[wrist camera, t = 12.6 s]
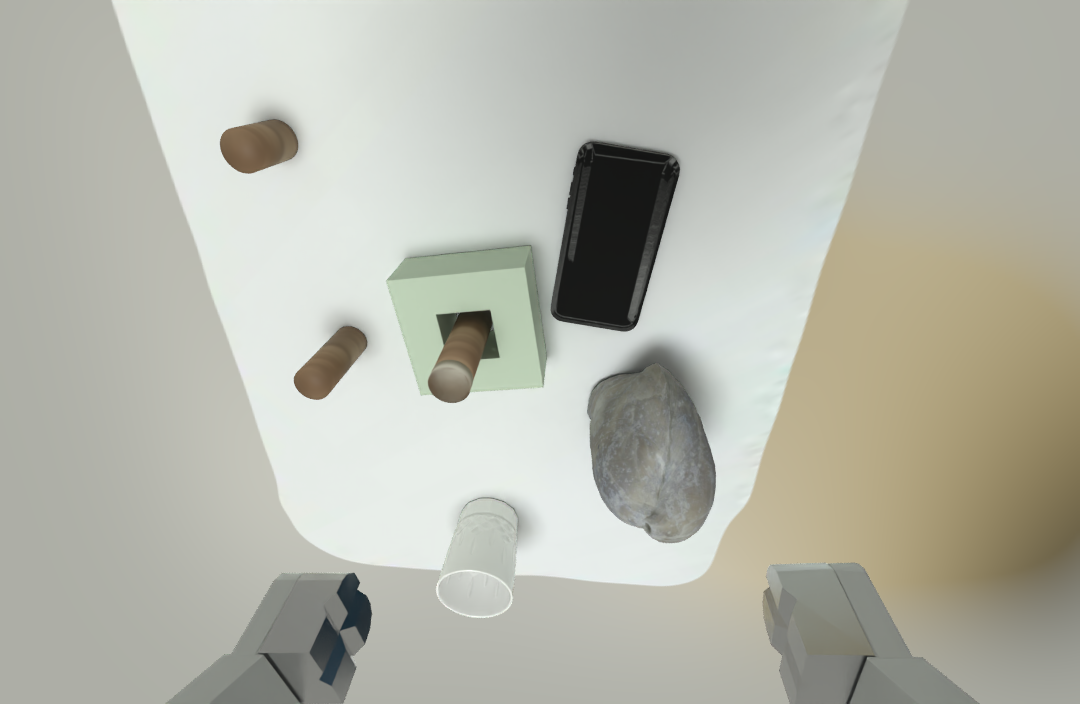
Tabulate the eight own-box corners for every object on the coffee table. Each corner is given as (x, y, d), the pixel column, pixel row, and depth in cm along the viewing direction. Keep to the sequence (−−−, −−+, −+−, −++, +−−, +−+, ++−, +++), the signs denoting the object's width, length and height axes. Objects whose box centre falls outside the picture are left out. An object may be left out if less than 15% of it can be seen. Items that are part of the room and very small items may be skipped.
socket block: (405, 258, 44) (386, 280, 39) (530, 245, 42) (524, 267, 38) (435, 365, 49) (421, 395, 45) (546, 357, 48) (543, 387, 43)
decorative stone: (592, 337, 46) (596, 447, 33) (706, 343, 46) (754, 456, 33) (583, 460, 54) (583, 587, 41) (680, 466, 53) (712, 597, 41)
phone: (683, 158, 37) (634, 333, 45) (681, 155, 38) (633, 327, 46) (578, 140, 37) (547, 319, 45) (578, 138, 38) (548, 313, 46)
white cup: (519, 543, 62) (508, 623, 53) (455, 534, 62) (435, 612, 53) (526, 498, 58) (516, 576, 49) (458, 488, 58) (436, 565, 49)
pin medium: (330, 331, 48) (286, 373, 41) (357, 322, 47) (318, 364, 40) (345, 357, 49) (306, 403, 42) (372, 349, 49) (336, 394, 42)
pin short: (253, 122, 39) (212, 130, 35) (289, 116, 38) (252, 125, 34) (269, 162, 40) (231, 175, 36) (303, 158, 40) (270, 170, 36)
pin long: (459, 296, 45) (423, 368, 35) (492, 293, 45) (465, 365, 34) (466, 326, 47) (433, 404, 36) (498, 323, 46) (474, 401, 36)
